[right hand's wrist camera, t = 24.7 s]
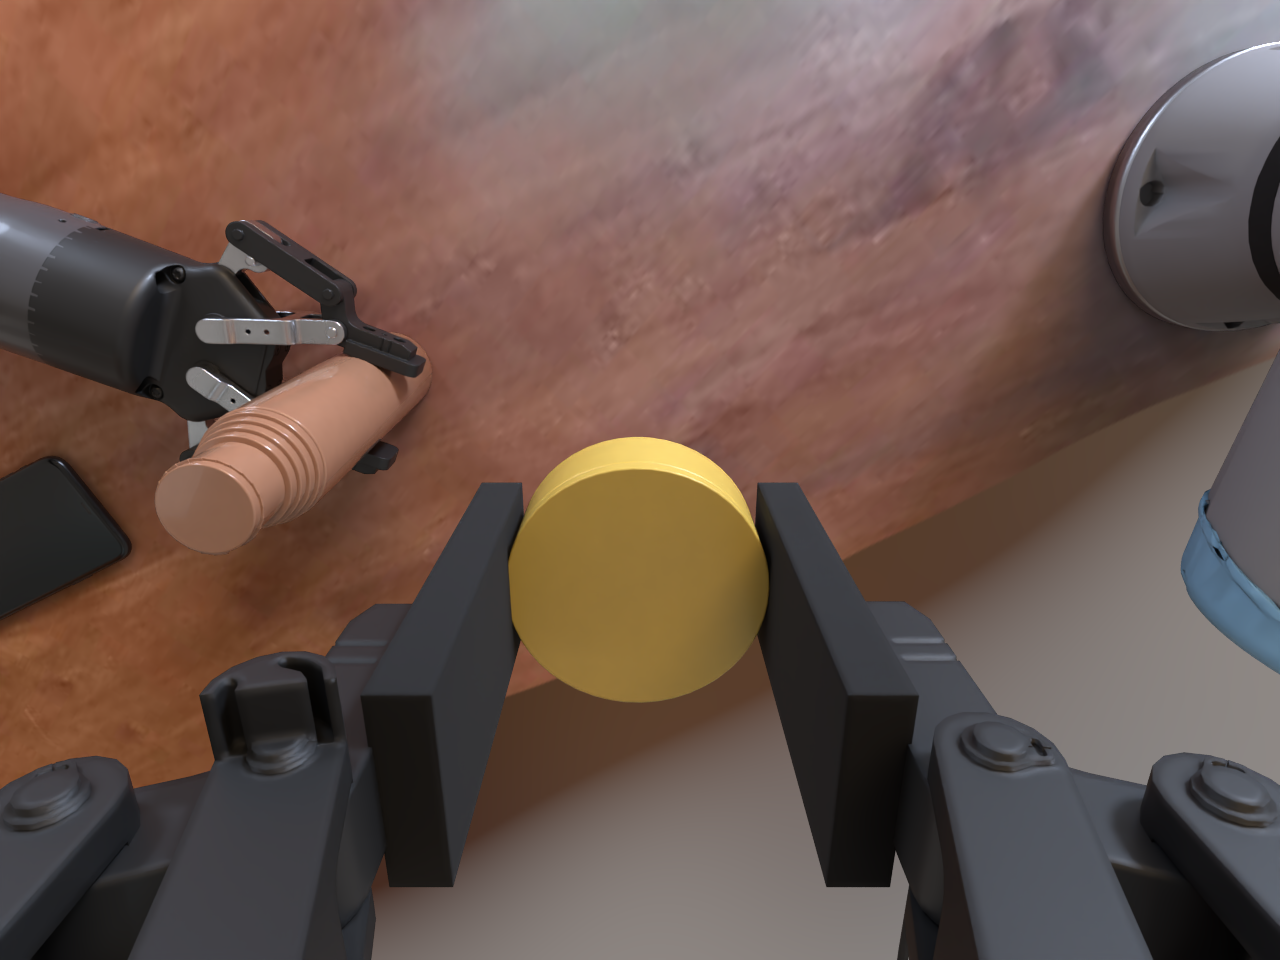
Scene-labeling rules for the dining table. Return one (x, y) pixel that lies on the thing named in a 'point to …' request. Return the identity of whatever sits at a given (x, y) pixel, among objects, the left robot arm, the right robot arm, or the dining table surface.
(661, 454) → the cap
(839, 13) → the dining table surface
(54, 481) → the smartphone
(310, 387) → the bottle
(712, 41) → the dining table surface
